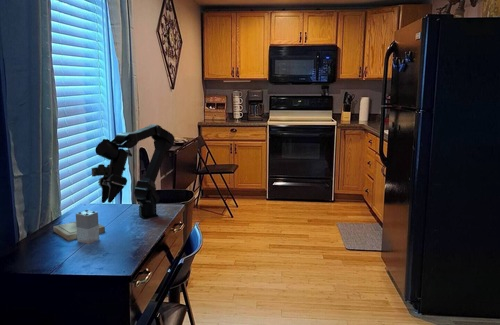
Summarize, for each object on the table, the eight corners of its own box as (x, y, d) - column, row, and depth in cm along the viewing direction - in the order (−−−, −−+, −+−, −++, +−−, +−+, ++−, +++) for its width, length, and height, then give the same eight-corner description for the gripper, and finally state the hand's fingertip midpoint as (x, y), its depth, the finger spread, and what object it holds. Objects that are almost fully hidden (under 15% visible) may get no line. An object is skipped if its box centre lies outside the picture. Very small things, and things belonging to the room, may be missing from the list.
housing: (88, 237, 153) (86, 209, 151) (99, 239, 151) (97, 211, 149) (77, 241, 148) (75, 212, 147) (88, 244, 146) (87, 214, 144)
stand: (89, 223, 169) (88, 217, 168) (105, 231, 159) (104, 225, 159) (53, 231, 159) (53, 225, 159) (68, 240, 149) (67, 234, 149)
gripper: (91, 159, 165) (79, 197, 161) (103, 154, 149) (90, 196, 145) (118, 168, 170) (107, 204, 166) (132, 164, 155) (120, 204, 151)
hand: (106, 202), depth 157 cm, fingers open, 9 cm apart
